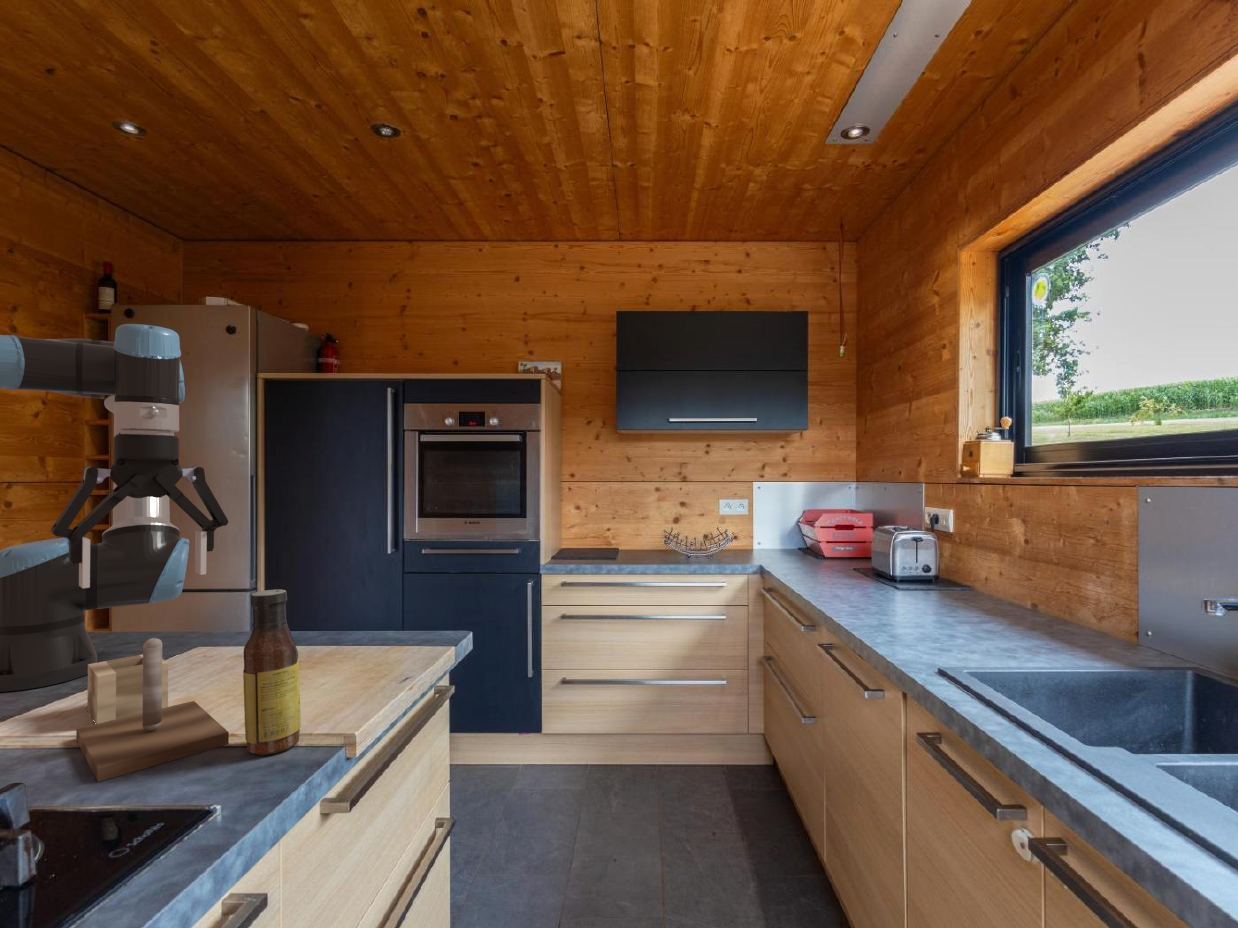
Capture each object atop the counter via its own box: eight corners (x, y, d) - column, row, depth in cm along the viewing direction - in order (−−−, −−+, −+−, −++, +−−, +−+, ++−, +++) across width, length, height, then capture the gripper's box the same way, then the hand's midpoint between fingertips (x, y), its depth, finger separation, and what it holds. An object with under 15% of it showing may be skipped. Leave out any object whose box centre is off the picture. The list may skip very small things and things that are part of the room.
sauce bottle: (310, 736, 81) (311, 587, 81) (280, 758, 75) (281, 597, 75) (264, 734, 82) (265, 586, 82) (230, 756, 75) (231, 596, 76)
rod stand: (76, 740, 80) (77, 637, 80) (193, 710, 90) (194, 619, 90) (97, 781, 69) (99, 662, 69) (228, 743, 79) (229, 639, 79)
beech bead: (87, 712, 89) (87, 664, 89) (154, 696, 95) (155, 652, 95) (97, 727, 84) (97, 676, 84) (167, 710, 90) (168, 662, 90)
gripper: (31, 429, 76) (30, 597, 77) (252, 436, 95) (250, 571, 96) (24, 430, 81) (23, 588, 81) (235, 437, 100) (233, 565, 100)
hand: (145, 579), depth 89 cm, fingers open, 13 cm apart
